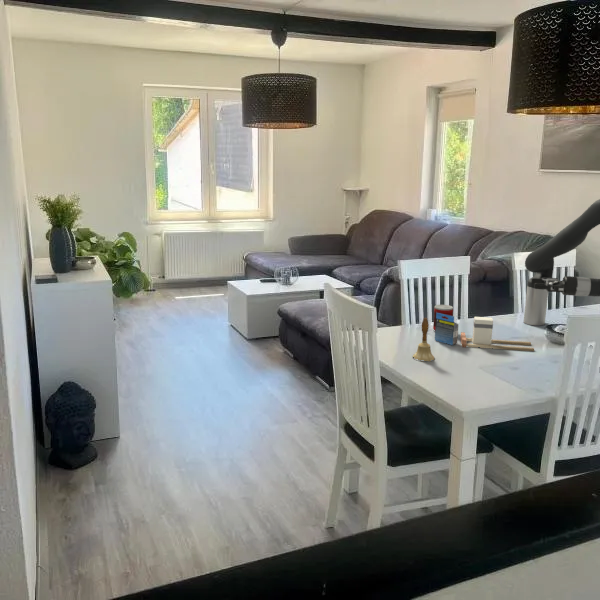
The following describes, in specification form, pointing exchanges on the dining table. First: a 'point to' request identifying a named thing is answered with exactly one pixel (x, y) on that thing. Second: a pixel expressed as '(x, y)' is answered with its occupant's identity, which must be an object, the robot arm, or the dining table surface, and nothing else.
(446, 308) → the canned food
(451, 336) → the label tape cartridge
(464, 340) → the wooden rail channel
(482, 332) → the block
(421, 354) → the hand bell
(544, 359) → the dining table surface
